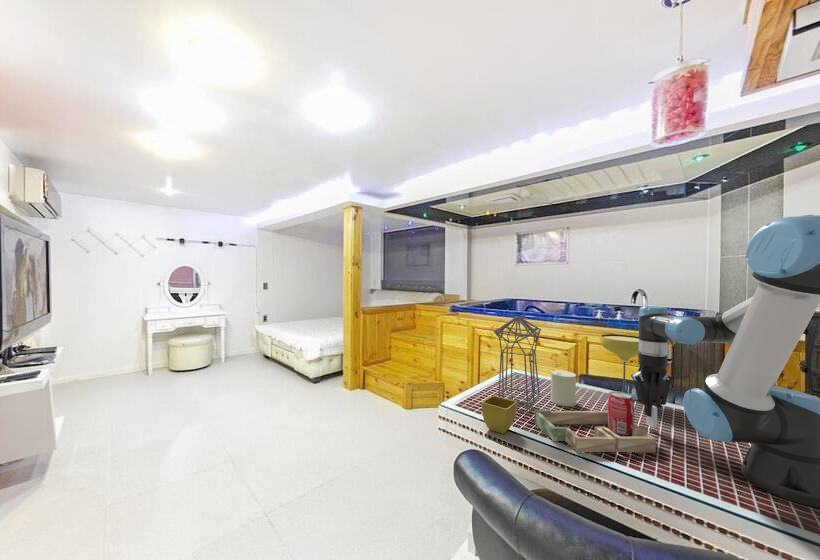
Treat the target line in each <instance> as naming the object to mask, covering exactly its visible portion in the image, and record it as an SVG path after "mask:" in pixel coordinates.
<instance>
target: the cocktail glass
mask: <svg viewBox="0 0 820 560" xmlns="http://www.w3.org/2000/svg"><path fill="white" fill-rule="evenodd" d="M599 342H600V345H601V346H602V347H603V348H604V349H605V350H607V351H609V352H610V353H612V354H614V355H616V356H617V357H618V358H619V359H620V360H621V361H622V362H623V375H622V379H623V380H622V381H623V382H622V390H621V391H619V390H618V391H617V390H616V391H617V392H623V393H627V394H630V395H631V396H632V400H633V401H634V402H638V401H637V400H638V397H637V394H633V393H630V392H627V389H626V362H628V361H630V359H632V358H633V357H637V356H638V354H639V353H640V351H639V336H637V335H636V336H635V335H625V334H608V333H607V334H602V335H600V337H599ZM611 392H614V391H609V392H608V394H609V396H610V395H611Z"/></svg>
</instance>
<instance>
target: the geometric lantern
mask: <svg viewBox="0 0 820 560" xmlns="http://www.w3.org/2000/svg"><path fill="white" fill-rule="evenodd" d="M510 325H511V326H510ZM521 325H522V326H523V328H524V329H521ZM509 326H510V327H509ZM514 326H515V328H514ZM505 329H507V330H508V332H507V333H506V332H504V330H505ZM513 330H514V331H513ZM518 331H519V334H518ZM541 331H542V329H541V328H539V327H538V326H536V325H535V324H532V323H531V322H529V321H527V320H526V319H524V318H522V317H521V316H514V317H513V318H512V319H510V320H509V321H507V322H506V323H504V324H503V325H501V326H500V327H498V328H496V329H495V330H494V331H493V333H494V334H495V336H496V337H498V340H499V347H500V359H499V373H498V374H499V375H498V376H499V377H498V378H499V379H498V396H497V397H501V398H505V399H509V400H513V401H516V402H517V406H518V407H521V408H522V407H523V408H525V409H526V410H520V409H516V412H522V413H525V414H528V413H531V411H532V408H533V404H535V403H536V402H537V400H538V398H539V397H540V395H541V394H540V386H539V385H540V383H539V376H538V375H539V373H538V364H537V354H536V351H537V347H538V346H537V345H538V341H539V337H540V334H541ZM511 332H512V333H511ZM521 332H526V334H525V333H524V334H522V333H521ZM503 335H506V336H507V338H505V337H504V336H503ZM510 336H513V337H514V341H513V340H510V339H509V337H510ZM531 336H533V343H532V344H531V343H530V341H529V339H528V338H529V337H531ZM519 338H520V339H519ZM501 339H502V340H503V342H504V343H505V347H504V349H503V348H502V340H501ZM525 339H526V340H527V343H528V345H530V348H528V347H527V348H526V347H522V346H521V345H520V342H521V341H523V340H525ZM509 344H512V345H511V346H509ZM515 344H517V345H518V347H515ZM509 349H510V351H511V352H509ZM513 349H518V350H519V349H520V350H521V351H522V353H515V352H513ZM505 350H506V351H505ZM525 350H530V351H529V353H526V352H525ZM504 354H506V356H505V357H506V358H505V359H506V361H505V376H504ZM509 354H510V387H507V386H508V359H509ZM513 355H516V356H517V355H519V356H523V357H524V358H523V359H524V374H525V375H524V379H525V389H521V388H513ZM531 356H532V357H531ZM527 357H528V358H529V360H528V361H529V371H530V382H531V390H529V389H528V373H527ZM535 375H536V376H535ZM504 377H505V378H504ZM535 377H536V380H535ZM504 379H505V380H504ZM504 383H505V386H504ZM536 386H537V391H536ZM508 390H509V391H511V392H510V393H509V391H508ZM513 391H519V392H525V394H526V396H525V397H526V398H525V397H517V396H513ZM505 392H506V393H507V395H508V397H509V398H508V397H507V398H506V397H505ZM529 393H531V394H532V395H531V396H530V397H529ZM510 394H511V395H510ZM535 394H536V396H535ZM516 399H520V400H516ZM521 400H525V401H521ZM520 404H522V405H520Z"/></svg>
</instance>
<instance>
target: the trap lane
mask: <svg viewBox="0 0 820 560" xmlns="http://www.w3.org/2000/svg"><path fill="white" fill-rule="evenodd" d="M533 420H534V424H535V425H536V426H537V427H538V429H540V430H541V431H542V432H543V433H544V434H545V435H546V434H547V435H548V436H549V437H550V438H551V439H552V440H553V441H566V442H567V443H568V444H569V445H570V446H571V447H572V448H574V449H575V450H576V451H577V452H615V453H616V452H617V451H618V452H627V453H629V454H632V452H633V454H635V453H636V454H637V453H639V454H642V453H643V454H645V453H647V454H648V453H649V454H651V453H653V454H654V453H656V450H657V449H656V448H657V446H656V445H657V441H656V440H657V439H656V437H654V436H653V435H651V434H650V433H648V427H647V426H644V425H643V426H642V425H641V426H638V425H637V426H635V425H634V426H632V434H631V436H620V435H619V434H617V433H615V432H613V431H612V430H611V429H610V428H609V427H608V426H607V427H606V426H594V430H593V431H594V433H593V434H594V435H593V436H579V435H577V434H576V432H574V431H573V430H572V429H570V428H569V426H555V425H608V410H550V409H537V410H536V411H535V410H534V418H533ZM547 435H546V436H547ZM548 436H547V437H548ZM549 437H548V438H549ZM550 438H549V439H550ZM551 439H550V440H551ZM552 440H551V441H552ZM553 441H552V442H553ZM566 442H565V443H566ZM567 443H566V444H567ZM568 444H567V445H568ZM569 445H568V446H569ZM570 446H569V447H570ZM571 447H570V448H571ZM572 448H571V449H572ZM575 450H574V451H575ZM576 451H575V452H576ZM577 452H576V453H577ZM618 452H617V453H618ZM634 452H635V453H634ZM627 453H626V454H627Z"/></svg>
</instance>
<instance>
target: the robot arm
mask: <svg viewBox="0 0 820 560" xmlns="http://www.w3.org/2000/svg"><path fill="white" fill-rule="evenodd" d="M745 258H746V259H748V260H747V261H746V263H747V265H748V267H749V269H750V270H751V271H753V272H752V274H751V278H752V280H753V281H754V282H755V283H756V284H757V287H756V289H755V292H754V294H753V296H751V297H749V298H747V299H745V300H743V301H742V302H740V303H738V304H737V305H735V306H733V307H731V308H730V309H728V310H726V311H724V312H722V313H720V314H718V315H715V316H693V315H690V316H688V315H687V316H686V315H672V314H671V315H670V314H669V311H668V310H669V309H668V308H667V307H664V306H651V305H644V306H640V308H639V312H638V313H639V314H638V315H639V316H638V317H637V318H638V337H639V351H640V353H639V354H638V355H637V356H638V357H637V358H638V359H637V360H638V361H637V362H638V365H639V367H638V369H637V372H636V373H631V375H630V377H631V378H632V380H633V383H634V389H635V392H636V396H637V397H638V401H637V402H638V403H640V404H641V405H644V415H645V416H646V417H645V424H646V425H647V426H648V427H650V428H655V429H657V428H658V417H659V416H660V409H662V408H663V406H665V405H666V403H667V401H668V395H669V391H670V388H671V384H672V382H673V381H674V379H675V377H674V376H673V375H670V374H669V373H667V367H668V356H667V355H668V346H669V345H668V344H669V343H668V342H669V341H672V342H675V343H677V344H681V345H683V344H685V345H695V344H698V343H714V344H729V345H730V347H729V349H728V351H727V353H726V355H725V357H724V359H723V362H722V363H721V366H720V368H719V370H718V373H713V374H710V375H709V374H708V375H707V376H706V378H705V380H704V382H703V385H702V387H701V388H696V387H694V388H692V389H691V388H690V389H688V390H687V391H686V392H685V393H684V394H683V395H684V396H683V398H682V399H683V402H682V403H683V410H684V412H685V415H686V417H687V420H688V421H689V423H690V424H691V426H692V428H693V429H694V430H695V431H696V432H697V433H698V434H700V435H701V436H702V437H704V438H706V439H708V440H711V441H716V442H723V443H742V444H743V443H745V444H746V443H747V444H751V445H750V447H749V449H748V450H747V453H746V454H745V456H744V459H743V460H742V461H741V474H742V476H743V477H744V478H745V480H747V481H749V482H750V483H752V484H753V485H754V486H756V487H758V488H760V489H762V490H764V491H766V492H768V493H771V494H773V495H774V496H777V497H780V498H783V499H785V500H787V501H791V502H795V503H798V504H801V505H804V506H810V507H814V508H818V509H819V508H820V397H818V396H815V395H812V394H809V393H806V392H801V391H799V390H795V389H790V388H786V387H782V386H776V382H777V380H778V379H779V377H780V376H781V373H782V372H783V370H784V368H785V366H786V365H787V363H788V361H789V359H790V357H791V355H792V354H793V352H794V350H795V348H796V347H797V345H798V343H799V341H800V339H801V337H802V336H803V334H804V333H805V331H806V329H807V327H808V325H809V323H810V321H811V319H812V317H813V316H814V315H815V313H816V311H817V309H818V307H819V305H820V214H819V215H815V214H805V215H799V216H798V215H797V216H796V215H795V216H787V217H786V216H785V217H781V218H779V219H775V220H773V221H771V222H768V223H767V224H765V225H763V226H762V227H760V228H759V229H758V230H756V232H755V233H754V234H753V235H752V236H751V238H750V239H749V240H748V243H747V245H746V248H745Z"/></svg>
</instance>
